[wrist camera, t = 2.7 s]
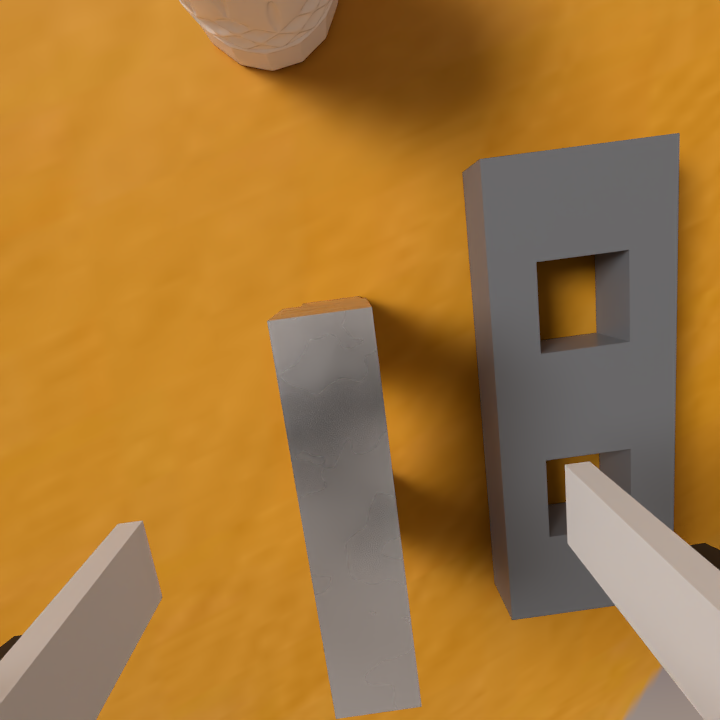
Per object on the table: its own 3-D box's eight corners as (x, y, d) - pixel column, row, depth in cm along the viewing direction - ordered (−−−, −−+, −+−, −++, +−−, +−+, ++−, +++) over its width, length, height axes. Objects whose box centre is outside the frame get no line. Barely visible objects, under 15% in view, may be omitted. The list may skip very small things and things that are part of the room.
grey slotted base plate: (494, 583, 28) (512, 620, 25) (462, 172, 23) (479, 159, 20) (638, 563, 28) (672, 597, 26) (637, 149, 23) (679, 133, 21)
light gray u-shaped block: (338, 530, 27) (336, 718, 16) (301, 294, 24) (267, 320, 13) (388, 523, 27) (421, 706, 16) (358, 286, 24) (371, 306, 13)
